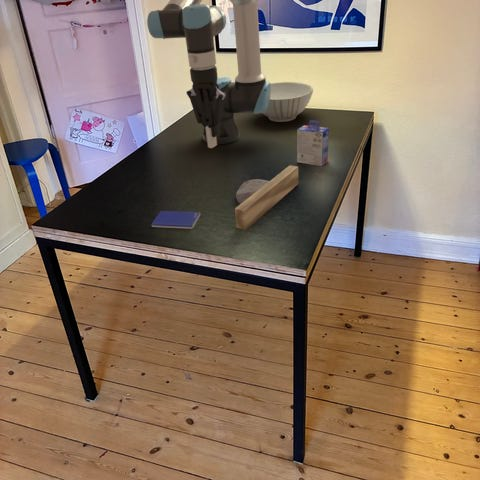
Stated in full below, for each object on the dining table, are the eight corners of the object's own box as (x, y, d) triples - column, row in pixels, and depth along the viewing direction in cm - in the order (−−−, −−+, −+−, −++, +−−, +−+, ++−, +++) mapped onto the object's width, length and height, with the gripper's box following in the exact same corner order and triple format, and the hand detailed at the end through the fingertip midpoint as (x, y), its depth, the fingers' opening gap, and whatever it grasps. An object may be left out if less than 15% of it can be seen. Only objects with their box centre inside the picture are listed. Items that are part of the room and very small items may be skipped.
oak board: (236, 227, 134) (234, 208, 131) (290, 182, 156) (289, 165, 153) (245, 229, 132) (243, 210, 129) (298, 183, 154) (298, 166, 151)
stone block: (235, 209, 147) (266, 205, 144) (231, 195, 145) (262, 190, 141) (245, 193, 157) (274, 189, 153) (242, 179, 155) (271, 175, 151)
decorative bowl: (290, 131, 197) (290, 102, 190) (240, 121, 212) (238, 94, 205) (324, 112, 214) (324, 85, 207) (275, 105, 229) (274, 79, 222)
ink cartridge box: (329, 161, 168) (330, 120, 160) (322, 167, 164) (323, 126, 157) (303, 157, 173) (303, 117, 165) (296, 162, 169) (296, 122, 161)
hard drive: (200, 211, 141) (160, 210, 144) (192, 225, 135) (151, 223, 137) (200, 216, 142) (161, 214, 145) (192, 230, 135) (152, 228, 138)
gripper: (176, 68, 134) (188, 147, 147) (214, 71, 127) (223, 154, 140) (192, 62, 139) (202, 138, 152) (229, 64, 132) (237, 144, 145)
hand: (212, 146), depth 146 cm, fingers closed
